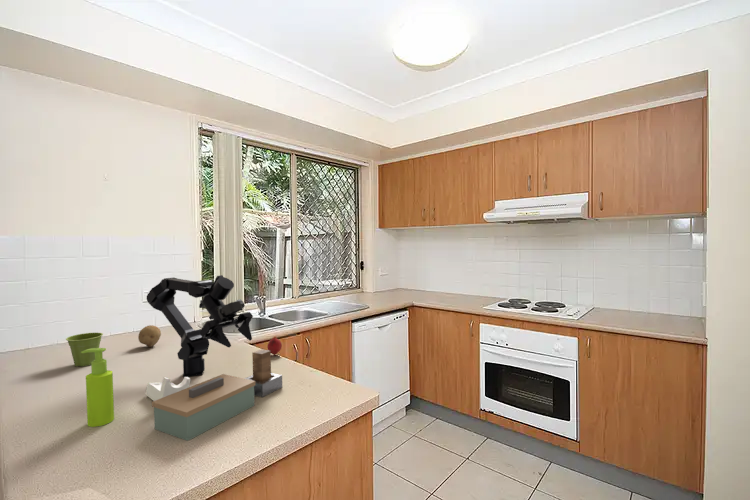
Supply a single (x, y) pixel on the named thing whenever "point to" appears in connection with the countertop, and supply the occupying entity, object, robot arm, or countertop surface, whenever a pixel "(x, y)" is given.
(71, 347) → the plant pot
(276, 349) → the onion
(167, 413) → the toolbox
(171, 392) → the bracket
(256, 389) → the grey shallow box
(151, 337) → the potato
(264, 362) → the walnut key
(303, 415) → the countertop surface
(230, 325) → the robot arm
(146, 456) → the countertop surface
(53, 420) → the countertop surface
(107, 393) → the soap dispenser
